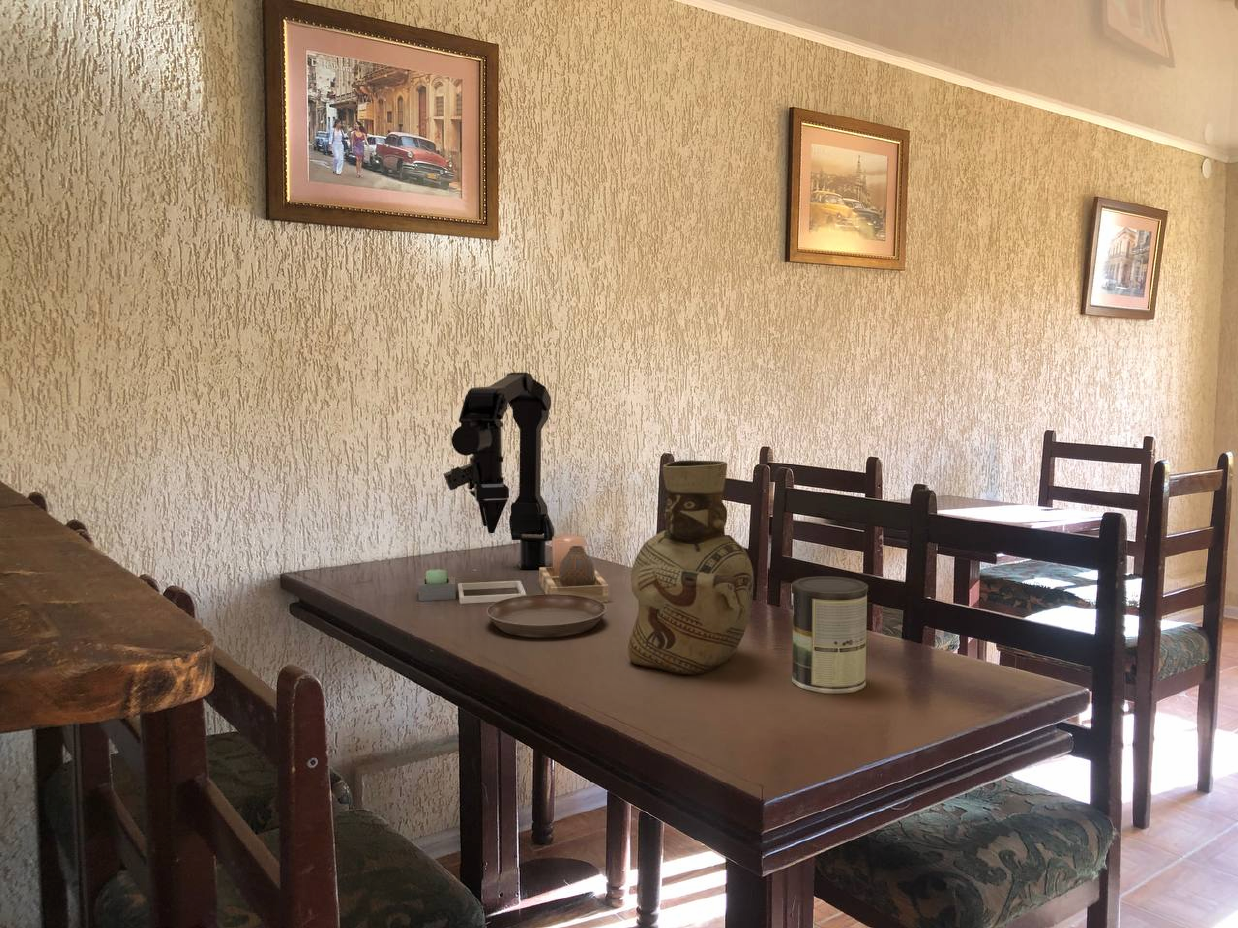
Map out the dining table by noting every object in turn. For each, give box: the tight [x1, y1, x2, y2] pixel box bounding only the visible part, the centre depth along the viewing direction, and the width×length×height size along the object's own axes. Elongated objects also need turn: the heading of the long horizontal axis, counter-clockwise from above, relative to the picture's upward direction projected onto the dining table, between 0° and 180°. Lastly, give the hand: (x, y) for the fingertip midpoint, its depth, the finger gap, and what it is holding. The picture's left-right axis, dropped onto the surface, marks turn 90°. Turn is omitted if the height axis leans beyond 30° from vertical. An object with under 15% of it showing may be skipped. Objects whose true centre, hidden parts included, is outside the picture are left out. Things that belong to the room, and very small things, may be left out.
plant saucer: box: [486, 593, 607, 638], centre depth 171 cm, size 21×21×3 cm
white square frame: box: [457, 580, 527, 605], centre depth 194 cm, size 13×13×1 cm
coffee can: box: [791, 575, 869, 695], centre depth 138 cm, size 10×10×14 cm
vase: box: [559, 546, 596, 587], centre depth 190 cm, size 7×7×9 cm
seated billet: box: [551, 533, 586, 576], centre depth 200 cm, size 7×7×9 cm
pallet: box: [538, 566, 610, 603], centre depth 196 cm, size 20×11×3 cm, turn 11°
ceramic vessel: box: [627, 459, 754, 676], centre depth 148 cm, size 19×21×30 cm
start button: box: [425, 568, 448, 584], centre depth 192 cm, size 4×4×4 cm
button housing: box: [417, 576, 457, 602], centre depth 193 cm, size 7×7×3 cm
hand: (488, 529), depth 196 cm, fingers open, 9 cm apart
